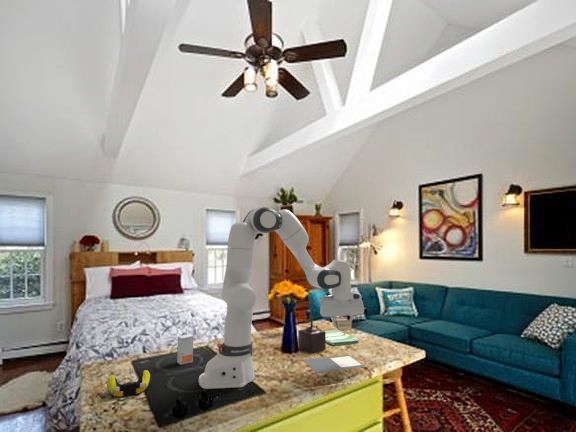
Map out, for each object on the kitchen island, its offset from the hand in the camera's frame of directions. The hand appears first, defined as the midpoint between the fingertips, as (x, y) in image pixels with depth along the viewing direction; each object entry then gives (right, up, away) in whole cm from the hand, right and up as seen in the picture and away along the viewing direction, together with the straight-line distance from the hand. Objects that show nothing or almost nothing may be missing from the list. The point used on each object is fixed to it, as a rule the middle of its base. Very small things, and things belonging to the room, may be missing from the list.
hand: (342, 325), depth 161 cm
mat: (-4, -17, -2) cm, 18 cm away
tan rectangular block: (0, -1, 0) cm, 1 cm away
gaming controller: (-85, -16, -29) cm, 91 cm away
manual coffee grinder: (-14, -19, +21) cm, 31 cm away
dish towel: (+2, -20, +37) cm, 42 cm away
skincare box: (-72, -17, 0) cm, 74 cm away
